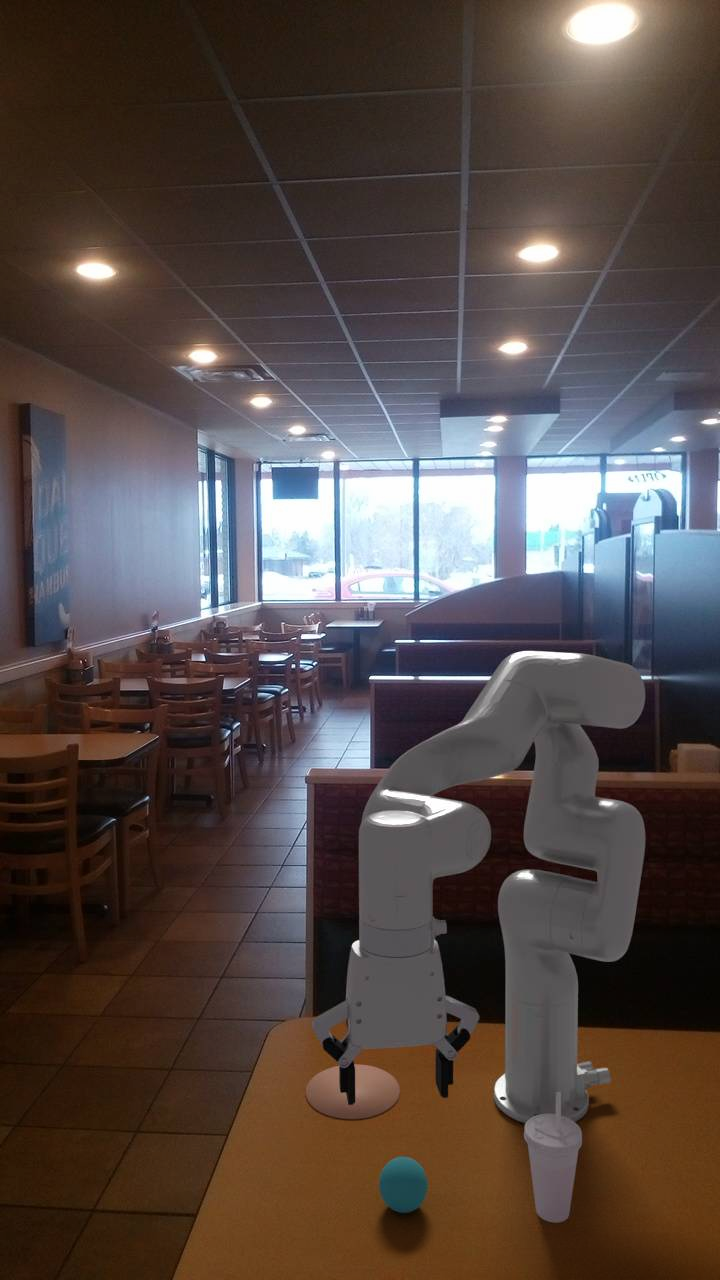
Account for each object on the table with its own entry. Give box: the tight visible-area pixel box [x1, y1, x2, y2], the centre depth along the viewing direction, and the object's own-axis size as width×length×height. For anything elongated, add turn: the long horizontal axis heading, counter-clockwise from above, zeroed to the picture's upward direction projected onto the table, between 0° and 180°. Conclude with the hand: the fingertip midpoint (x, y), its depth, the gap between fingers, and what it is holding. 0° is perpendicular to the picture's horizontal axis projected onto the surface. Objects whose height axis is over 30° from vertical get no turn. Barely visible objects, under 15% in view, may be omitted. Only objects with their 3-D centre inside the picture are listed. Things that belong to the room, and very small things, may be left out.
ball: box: [378, 1156, 429, 1214], centre depth 106 cm, size 6×6×6 cm
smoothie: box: [523, 1092, 583, 1224], centre depth 105 cm, size 6×6×14 cm
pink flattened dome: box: [305, 1063, 401, 1120], centre depth 130 cm, size 13×13×1 cm
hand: (396, 1094), depth 97 cm, fingers open, 9 cm apart
